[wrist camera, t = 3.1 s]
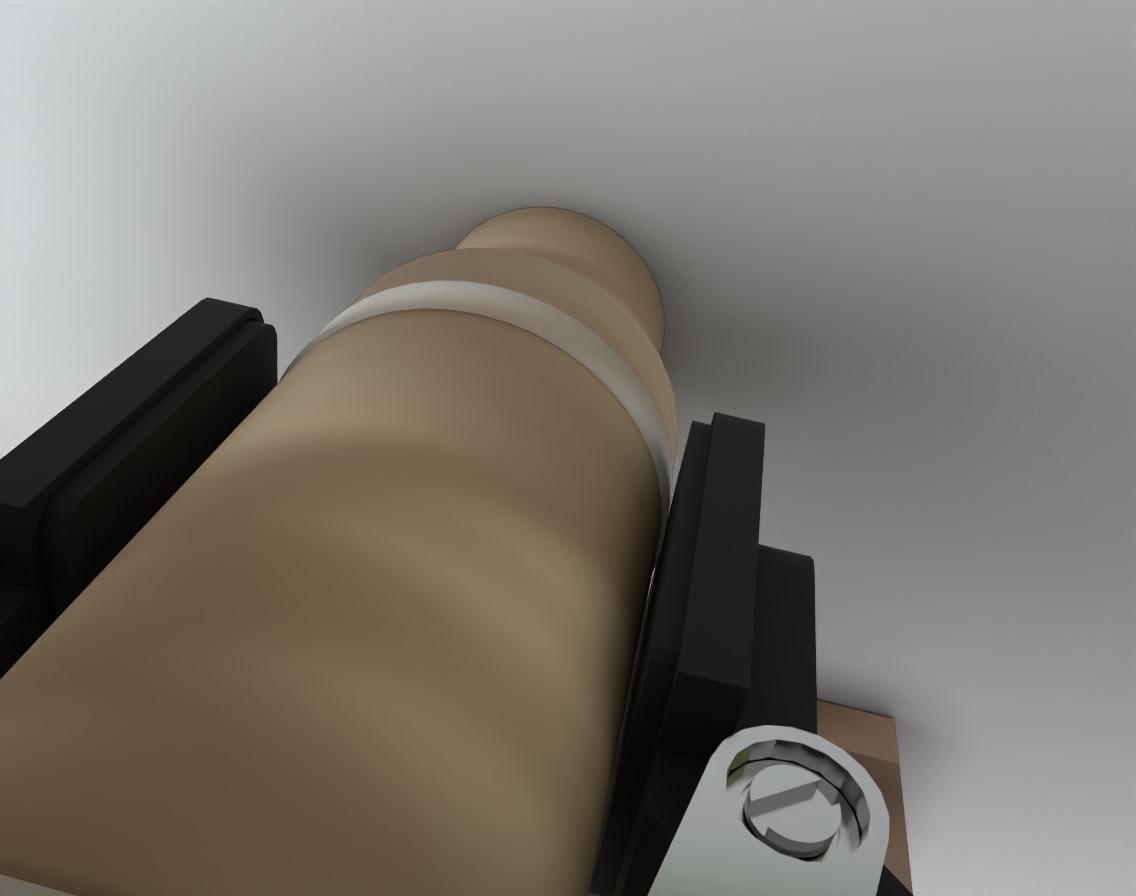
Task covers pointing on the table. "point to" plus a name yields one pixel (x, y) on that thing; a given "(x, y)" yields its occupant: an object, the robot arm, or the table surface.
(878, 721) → the board
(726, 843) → the robot arm
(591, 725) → the peg
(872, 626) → the table surface
